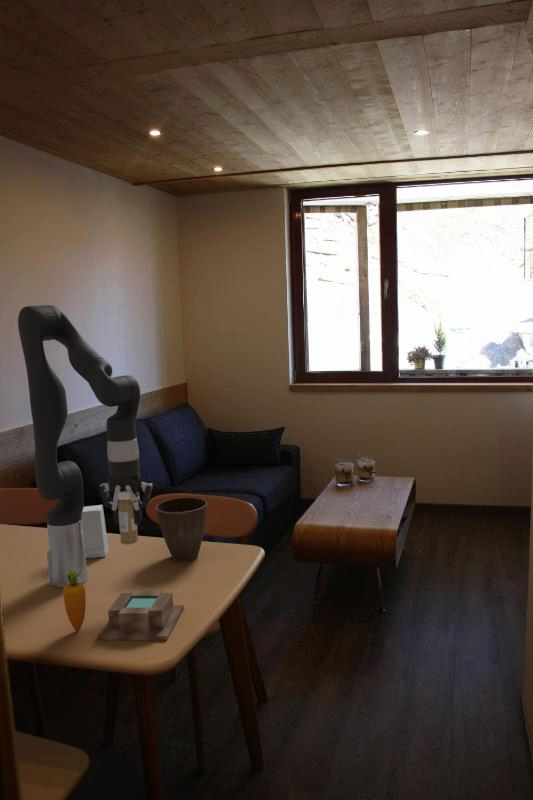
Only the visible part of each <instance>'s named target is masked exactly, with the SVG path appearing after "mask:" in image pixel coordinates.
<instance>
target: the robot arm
mask: <svg viewBox="0 0 533 800" xmlns="http://www.w3.org/2000/svg"><path fill="white" fill-rule="evenodd" d="M18 313H19V314H18V317H17V327H18V334H19V339H20V343H21V348H22V352H23V358H24V361H25V362H24V363H25V369H26V375H27V376H26V377H27V383H28V384H27V385H28V393H29V394H28V395H29V404H30V405H29V406H30V413H31V418H32V425H33V429H32V430H33V436H34V437H33V438H34V455H35V456H34V457H35V461H34V463H35V464H34V465H35V468H34V469H35V482H36V489H37V490H38V491H37V492H38V493H39V495H40V497H41V498H42V499H44V500H45V501H48V502H51V501H52V502H53V501H55V500H56V503H54V505H53V506H52V507H51V508H50V509H49V510H48V511H47V513H46V516H45V520H46V525H47V534H48V535H47V538H48V547H49V548H48V550H47V552H46V558H47V559H46V561H47V569H48V580H49V586H54V587H57V588H62V589H63V588H64V587H65V586H66V585H68V584H70V582H69V580H68V578H67V573H69V572H68V570H69V569H72V573H73V571H76V575H77V573H78V572H79V571H82V572H81V573H80V574H79V576H78V577H77V579H78V581H77V582H76V583H81V584H84V583H86V582H87V580H88V570H87V558H86V556H85V545H84V534H83V524H82V511H83V507H85V506H84V504H85V503H84V482H83V475H82V471H81V469H80V467H79V466H78V465H77V463H76V462H74V461H71V460H65V461H60V462H58V457H57V456H58V444H59V441H60V437H61V435H62V433H63V430H64V428H65V426H66V423H67V419H68V411H69V410H68V402H67V401H68V400H67V393H66V388H65V386H64V384H63V383H62V381H61V380H60V378H59V377H58V375H57V374H56V373H55V371H54V369H53V368H52V367H51V365H50V364H49V362H48V359H47V357H46V354H45V353H46V352H45V347H44V342H45V341H47V342H48V341H52V340H53V341H54V340H55V341H56V342H58V343H60V344H62V345H63V347H64V348H66V350H67V357H68V361H69V364H70V365H71V368H72V369H73V370H74V371H75V372H76V373H77V374H78V375H79V376H80V377H81V378H82V379H84V380H85V381H86V382H87V383H88V385H89V387H90V389H91V391H92V392H93V395H94V396H95V398H96V400H98V402H99V403H100V404H102V405H104V406H105V407H109V408H113V407H117V409H116V412H115V413H114V414H113V415H110V416H109V417H108V418H107V420H106V437H107V438H106V439H107V449H106V452H107V453H106V454H107V464H108V476H109V479H108V482H106V483H105V482H102V483H100V484H99V485H98V486H97V490H98V493H99V494H100V498H101V500H102V502H103V507H105V508H106V509H111V511H112V519H113V520H112V521H113V522H114V523H115V525H119V515H118V493H119V492H120V491H121V492H125V491H127V492H129V493H130V500H131V502H132V503H133V505H134V508H135V510H134V518H135V525H137V526H138V525H140V523H141V522H142V520H143V511H142V509H146V508H147V506H148V505H149V504H150V500H151V496H152V491H153V487H154V483H153V482H149V483H147V482H144V481H143V479H142V478H141V468H140V465H141V464H140V451H139V450H140V449H139V444H138V439H137V437H138V436H137V425H136V424H137V423H136V421H137V417H138V411H139V405H140V400H141V388H140V387H141V386H140V385H139V384H140V383H138V381H137V379H136V378H135V377H134V376H132V375H128V374H127V375H120V376H113V377H112V375H113V368H112V365H111V364H110V363H109V361H107V360H106V358H104V357H103V355H102V356H101V354H99V353H98V352H97V351H96V350H95V349H94V348H93V347H92V346H91V345H90V344H88V342H87V341H86V340H85V339H84V338H83V336H82V335H81V333H80V332H79V331H78V329H77V328H76V327H75V326H74V324H73V322H71V320H70V319H69V318H68V316H67V315H66V314H65V313H64V312H63V311H62V310H61V309H60V308H59V307H57V306H55V305H51V304H50V305H49V304H46V305H45V304H44V305H42V304H41V305H26V306H23V307H22V308H21V309H20V310H19V312H18ZM141 488H142V491H143V493H144V494H143V497H142V501H141V498H140V497H141V496H140V494H139V490H140V489H141ZM110 489H111V491H112V492H113V498H111V495H110V492H109V491H110ZM76 575H75V576H76Z"/></svg>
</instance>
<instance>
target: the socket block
mask: <svg viewBox="0 0 533 800" xmlns="http://www.w3.org/2000/svg"><path fill="white" fill-rule="evenodd" d="M132 598H157V599H156V600H155V602H154V603H153V605H152V607H151V608H126V607H127V605H128V604H129V602H130V601H131V600H132ZM184 610H185V606H184V604H174V598H173V592H163V590H161V589H159V590H158V589H157V590H155V589H154V590H153V589H151V590H150V589H149V590H145V589H144V590H143V589H141V590H138V589H137V590H134V592H121V593H120V594H119V595H118V597H117V598H116V599H115V601H114V602H113V603H112V604H111V606H110V607H109V608H108V610H107V615H108V621H107V622H106V624H105V625H104V626H103V628H102V629H101V630H100V631H99V633H98V635H97V640H98V639H103V640H102V641H168V640H169V638H170V636H171V634H172V633H173V631H174V628H175V626H176V624H177V623H178V621H179V619H180V618H181V615H182V613H183V611H184Z"/></svg>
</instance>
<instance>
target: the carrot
mask: <svg viewBox="0 0 533 800" xmlns="http://www.w3.org/2000/svg"><path fill="white" fill-rule="evenodd" d="M68 572H69V573H67V578H68V580H69V582H70V584H68V585H66V586H65V587H64V588H62V594H63V601H64V608H65V611H66V615H67V618H68V621H69V622H70V624H71V627H72V628H73V629H74V631H76V632H77V631H78V632H79V631H80V630H81V628H82V626H83V624H84V620H85V616H86V608H87V607H86V606H87V605H86V603H87V602H86V588H85V586H84V583H82V584H81V583H76V582H77V581H78V579H77V577H78V576H79V574H80V573H81V572H82V571H79V572H78V573H77V575H76V571H73V573H72V569H69V570H68ZM75 575H76V576H75Z"/></svg>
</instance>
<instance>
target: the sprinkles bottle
mask: <svg viewBox="0 0 533 800" xmlns="http://www.w3.org/2000/svg"><path fill="white" fill-rule="evenodd" d="M134 510H135V508H134V505H133V503H132V502H131V500H130V493H129V492H127V491H125V492H121V491H120V492H119V493H118V515H119V535H120V539H119V542H120V544H122V545H135V544H136V543H137V542H139V536H138V525H135V518H134Z"/></svg>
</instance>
